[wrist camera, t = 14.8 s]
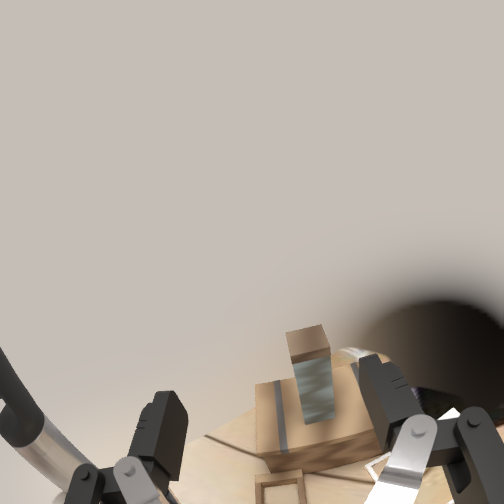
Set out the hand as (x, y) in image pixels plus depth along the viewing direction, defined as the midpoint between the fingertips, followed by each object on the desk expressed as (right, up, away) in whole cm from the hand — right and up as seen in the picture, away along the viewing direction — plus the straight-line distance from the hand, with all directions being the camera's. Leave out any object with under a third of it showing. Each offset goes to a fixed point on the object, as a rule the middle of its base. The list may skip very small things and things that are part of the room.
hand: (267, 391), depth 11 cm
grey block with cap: (+8, -15, +23) cm, 29 cm away
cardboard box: (+10, -26, +24) cm, 37 cm away
